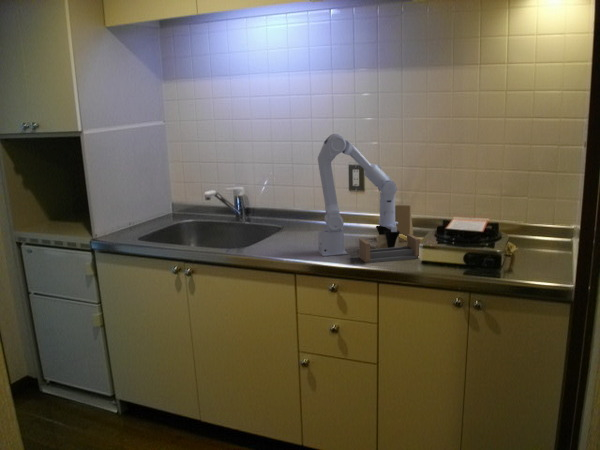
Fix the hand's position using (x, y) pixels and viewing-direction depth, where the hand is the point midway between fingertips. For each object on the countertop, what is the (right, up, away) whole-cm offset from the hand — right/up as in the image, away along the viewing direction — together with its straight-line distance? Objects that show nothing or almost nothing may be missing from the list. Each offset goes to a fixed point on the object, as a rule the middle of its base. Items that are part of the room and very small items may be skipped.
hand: (387, 246), depth 216 cm
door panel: (0, -1, 0) cm, 2 cm away
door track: (-1, -4, -10) cm, 11 cm away
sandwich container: (+9, +3, +20) cm, 22 cm away
